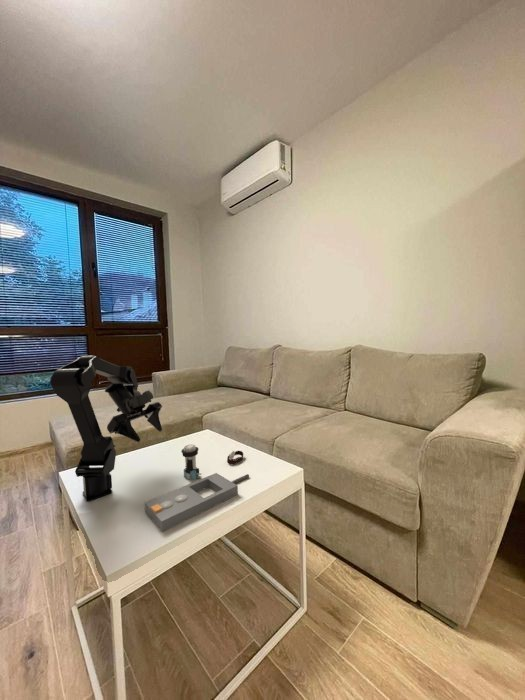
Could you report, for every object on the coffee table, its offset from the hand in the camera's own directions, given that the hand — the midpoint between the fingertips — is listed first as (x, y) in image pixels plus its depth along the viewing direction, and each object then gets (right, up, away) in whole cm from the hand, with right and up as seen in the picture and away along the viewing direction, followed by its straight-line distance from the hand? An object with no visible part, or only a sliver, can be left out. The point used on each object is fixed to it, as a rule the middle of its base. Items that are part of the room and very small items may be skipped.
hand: (150, 435), depth 93 cm
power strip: (+21, -13, -13) cm, 28 cm away
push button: (+14, -13, -2) cm, 20 cm away
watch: (+27, -12, +9) cm, 31 cm away
